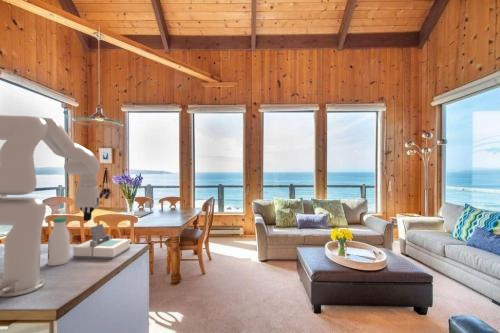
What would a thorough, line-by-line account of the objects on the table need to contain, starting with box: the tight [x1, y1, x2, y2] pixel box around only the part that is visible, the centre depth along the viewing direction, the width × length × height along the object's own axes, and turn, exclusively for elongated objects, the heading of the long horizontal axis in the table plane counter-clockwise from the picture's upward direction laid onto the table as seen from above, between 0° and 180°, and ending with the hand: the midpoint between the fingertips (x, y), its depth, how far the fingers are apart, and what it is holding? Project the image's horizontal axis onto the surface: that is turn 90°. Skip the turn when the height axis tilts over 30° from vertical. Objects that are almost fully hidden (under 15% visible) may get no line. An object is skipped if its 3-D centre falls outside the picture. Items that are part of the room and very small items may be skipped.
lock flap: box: [90, 223, 108, 244], centre depth 128 cm, size 9×9×2 cm
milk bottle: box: [47, 216, 71, 267], centre depth 113 cm, size 8×8×20 cm
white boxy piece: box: [72, 234, 131, 260], centre depth 127 cm, size 16×19×8 cm
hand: (87, 220), depth 128 cm, fingers closed
